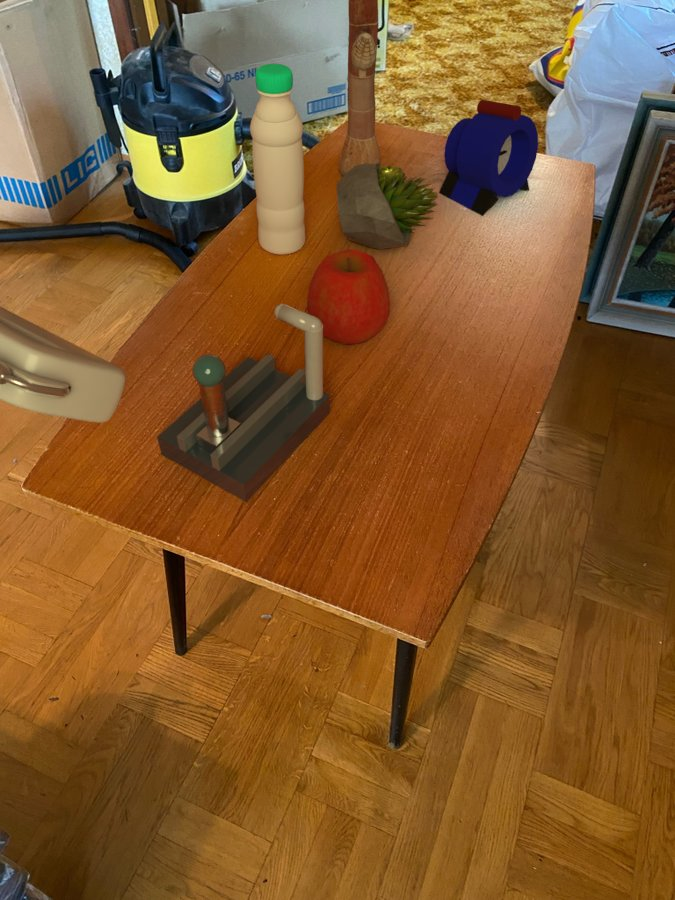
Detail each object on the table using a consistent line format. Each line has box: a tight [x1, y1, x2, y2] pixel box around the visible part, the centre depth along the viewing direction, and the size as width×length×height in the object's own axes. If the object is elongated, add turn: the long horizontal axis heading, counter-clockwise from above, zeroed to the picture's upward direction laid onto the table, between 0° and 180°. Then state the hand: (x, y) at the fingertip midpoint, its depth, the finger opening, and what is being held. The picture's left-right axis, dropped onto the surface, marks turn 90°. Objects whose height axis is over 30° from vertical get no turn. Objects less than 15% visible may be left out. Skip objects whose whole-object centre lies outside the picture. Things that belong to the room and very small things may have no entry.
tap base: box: [156, 303, 331, 503], centre depth 77 cm, size 12×16×14 cm
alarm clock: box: [438, 99, 539, 217], centre depth 114 cm, size 12×12×15 cm
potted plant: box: [336, 163, 439, 250], centre depth 105 cm, size 12×13×15 cm
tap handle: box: [191, 353, 241, 452], centre depth 73 cm, size 3×4×12 cm
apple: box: [306, 249, 391, 346], centre depth 91 cm, size 11×11×11 cm
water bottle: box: [249, 63, 306, 256], centre depth 99 cm, size 7×7×25 cm
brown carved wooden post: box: [338, 0, 382, 178], centre depth 112 cm, size 10×7×30 cm
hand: (70, 354), depth 53 cm, fingers closed
